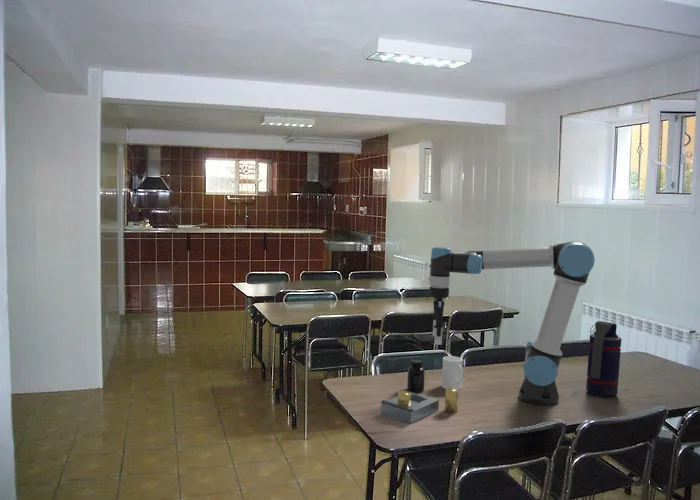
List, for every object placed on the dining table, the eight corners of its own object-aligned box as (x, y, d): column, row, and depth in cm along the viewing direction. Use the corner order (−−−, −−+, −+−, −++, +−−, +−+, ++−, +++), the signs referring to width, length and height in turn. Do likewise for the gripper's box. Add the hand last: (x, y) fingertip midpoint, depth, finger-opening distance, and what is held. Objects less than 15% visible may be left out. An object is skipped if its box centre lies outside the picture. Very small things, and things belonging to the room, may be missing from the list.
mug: (469, 391, 238) (471, 363, 237) (450, 393, 235) (452, 364, 234) (455, 383, 249) (456, 355, 248) (437, 384, 246) (438, 356, 245)
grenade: (593, 387, 249) (598, 318, 247) (621, 394, 241) (627, 322, 238) (578, 394, 239) (583, 322, 237) (608, 402, 231) (613, 327, 228)
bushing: (459, 410, 215) (460, 389, 215) (453, 414, 212) (454, 392, 211) (448, 407, 218) (449, 386, 218) (442, 410, 215) (443, 389, 214)
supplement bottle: (426, 389, 239) (427, 360, 238) (420, 394, 233) (422, 364, 232) (410, 386, 242) (411, 358, 241) (404, 391, 236) (405, 362, 235)
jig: (438, 410, 215) (439, 389, 214) (410, 423, 201) (411, 401, 201) (409, 401, 223) (410, 381, 223) (380, 413, 210) (381, 392, 209)
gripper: (428, 281, 241) (426, 332, 243) (431, 291, 216) (428, 347, 218) (446, 282, 240) (444, 333, 242) (451, 292, 215) (449, 348, 217)
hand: (437, 340), depth 230 cm, fingers open, 13 cm apart
